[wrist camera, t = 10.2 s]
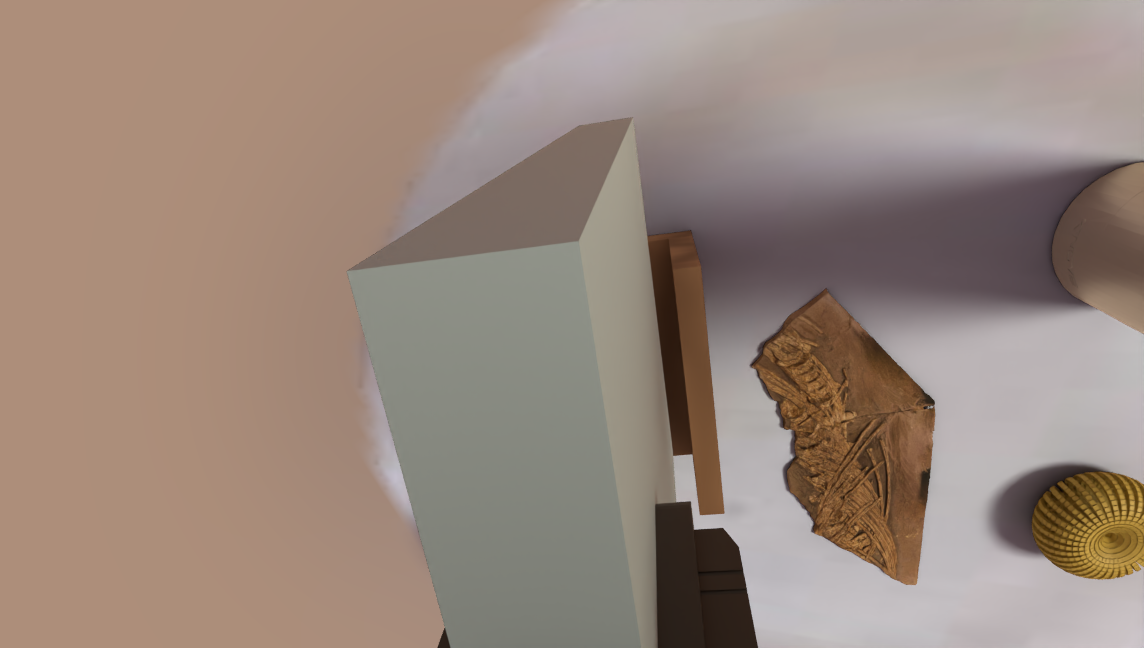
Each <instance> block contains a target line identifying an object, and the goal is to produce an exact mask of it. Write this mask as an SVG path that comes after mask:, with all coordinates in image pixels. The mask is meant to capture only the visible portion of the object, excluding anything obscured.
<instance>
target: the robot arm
mask: <svg viewBox="0 0 1144 648" xmlns="http://www.w3.org/2000/svg"><path fill="white" fill-rule="evenodd" d="M1052 262H1053V266H1054V269H1055V273H1056V275H1057V277H1058V279H1059V280H1060V282H1061V284H1062V285H1063V287H1064V288H1065V289H1066V290H1068V291H1069V292H1070V293H1071V294H1072V295H1073V296H1074V297H1076V298H1078V299H1080V300H1082V301H1083V302H1085V303H1087V304H1089V305H1091V306H1093V307H1095V308H1096V309H1098V310H1100V311H1102V312H1104V313H1106V314H1108V315H1109V316H1111V317H1113V318H1115V319H1117V320H1118V321H1120V322H1122V323H1124V324H1125V325H1127V326H1129V327H1131V328H1133V329H1135V330H1137V331H1139V332H1141V333H1142V334H1144V162H1140V163H1134V164H1131V165H1128V166H1125V167H1122V168H1118V169H1116V170H1114V171H1112V172H1110V173H1108V174H1106V175H1104V176H1102V177H1100V178H1099V179H1098V180H1096V181H1095V182H1094V183H1092V184H1091V185H1089V186H1088V187H1087V188H1085V189H1084V190H1083V191H1082V192H1081V193H1080V194H1079V195H1078V196H1077V197H1076V198H1075V199H1074V200H1073V201H1072V203H1071V204H1070V206H1069V207H1068V209H1067V210H1066V211H1065V213H1064V214H1063V216H1062V218H1061V220H1060V222H1059V224H1058V227H1057V229H1056V231H1055V235H1054V240H1053V245H1052ZM655 525H656V578H657V632H658V648H758V645H757V640H756V635H755V630H754V624H753V619H752V614H751V609H750V604H749V598H748V594H747V588H746V583H745V577H744V573H743V567H742V562H741V556H740V551H739V547H738V546H737V544H736V543H735V542H734V541H733V539H732V538H731V537H730V536H729V535H728V533H727V532H726V531H725V530H724V529H723V528H716V529H699V530H694V525H693V516H692V508H691V501H690V502H675V503H660V504H655ZM438 648H451V647H450V644H449V640H448V637H447V633H446V629H445V628H444V631H443V634H442V637H441V639H440V642H439V645H438Z"/></svg>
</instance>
